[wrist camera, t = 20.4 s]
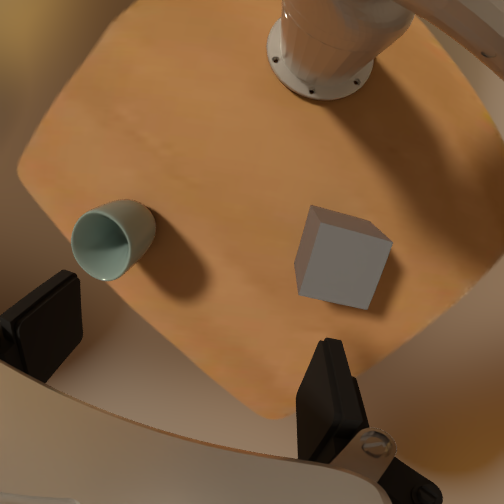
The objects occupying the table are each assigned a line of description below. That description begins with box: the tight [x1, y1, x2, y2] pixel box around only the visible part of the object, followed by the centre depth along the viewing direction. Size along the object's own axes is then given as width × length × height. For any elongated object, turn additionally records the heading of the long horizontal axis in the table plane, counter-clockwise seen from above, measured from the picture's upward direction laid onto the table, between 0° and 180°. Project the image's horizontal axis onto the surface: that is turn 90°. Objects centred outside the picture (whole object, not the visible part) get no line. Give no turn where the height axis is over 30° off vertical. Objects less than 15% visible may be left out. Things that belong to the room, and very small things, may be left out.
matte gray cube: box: [294, 205, 393, 310], centre depth 34 cm, size 8×8×9 cm
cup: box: [71, 199, 156, 281], centre depth 35 cm, size 8×8×10 cm
